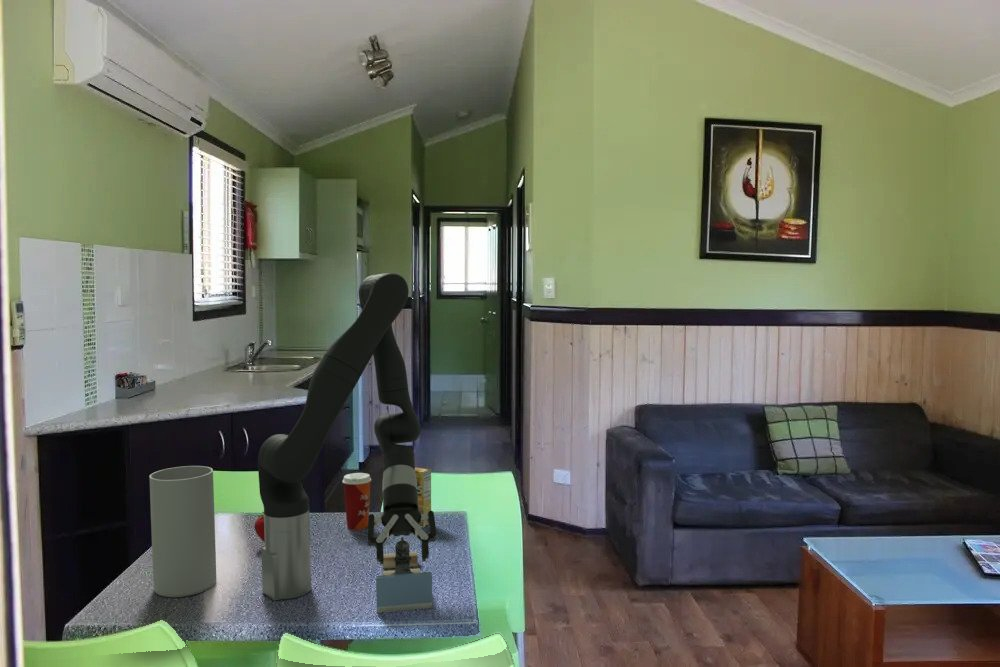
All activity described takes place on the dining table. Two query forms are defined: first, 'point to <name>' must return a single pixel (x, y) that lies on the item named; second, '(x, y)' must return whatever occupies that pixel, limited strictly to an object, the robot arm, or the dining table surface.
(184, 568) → the cylinder vase
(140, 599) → the dining table surface
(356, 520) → the paper cup
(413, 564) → the oak gap blocks
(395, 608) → the bezel holder
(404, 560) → the dark statuette
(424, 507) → the candy box
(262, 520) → the strawberry
